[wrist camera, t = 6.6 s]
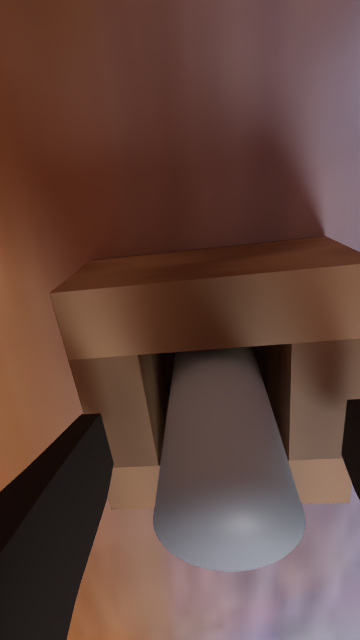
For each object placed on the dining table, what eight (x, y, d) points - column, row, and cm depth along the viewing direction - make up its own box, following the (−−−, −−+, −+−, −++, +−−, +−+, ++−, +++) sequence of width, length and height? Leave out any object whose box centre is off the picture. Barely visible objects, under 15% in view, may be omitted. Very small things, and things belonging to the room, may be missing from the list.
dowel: (252, 312, 14) (315, 472, 6) (248, 377, 15) (295, 574, 7) (175, 312, 14) (148, 468, 6) (177, 377, 15) (157, 568, 8)
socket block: (325, 236, 12) (380, 262, 8) (314, 426, 16) (349, 502, 12) (91, 260, 13) (48, 293, 9) (130, 435, 17) (111, 509, 13)
